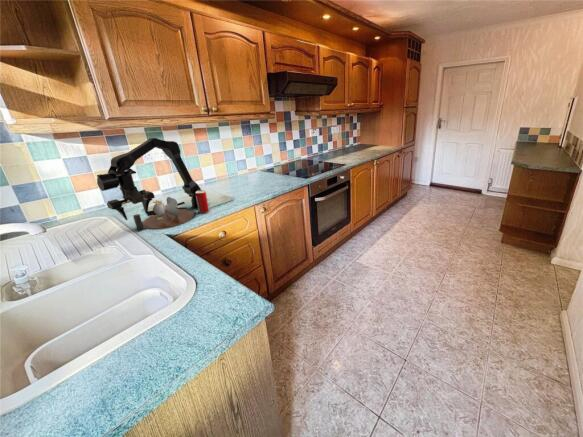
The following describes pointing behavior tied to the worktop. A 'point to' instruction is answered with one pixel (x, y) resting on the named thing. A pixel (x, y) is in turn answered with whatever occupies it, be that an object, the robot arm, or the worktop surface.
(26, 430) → the worktop surface
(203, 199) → the soda can
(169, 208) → the decorative toy
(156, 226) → the turntable
